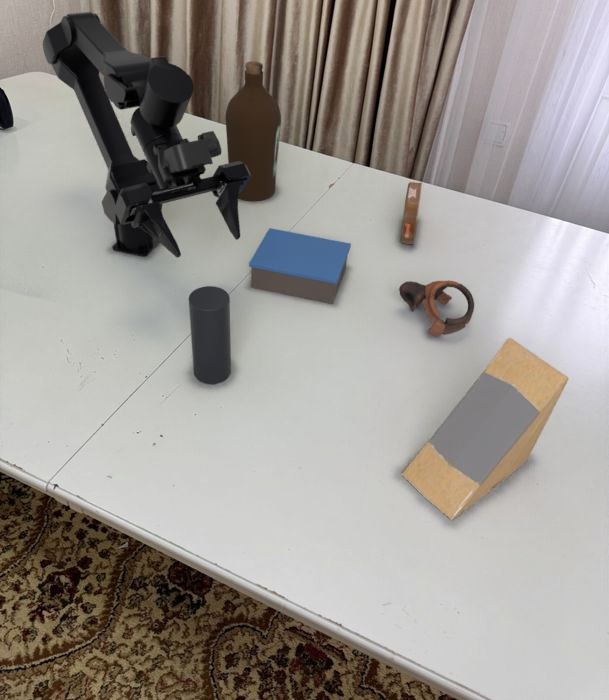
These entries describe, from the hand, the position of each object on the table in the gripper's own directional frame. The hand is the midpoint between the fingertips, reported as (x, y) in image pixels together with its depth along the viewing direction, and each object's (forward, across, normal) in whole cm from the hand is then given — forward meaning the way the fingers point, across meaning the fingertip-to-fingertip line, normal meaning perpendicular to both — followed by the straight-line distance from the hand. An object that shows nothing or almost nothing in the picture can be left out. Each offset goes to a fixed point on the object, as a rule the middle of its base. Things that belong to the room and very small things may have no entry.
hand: (209, 247), depth 85 cm
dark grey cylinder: (+15, -5, +6) cm, 17 cm away
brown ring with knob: (+22, +31, +2) cm, 38 cm away
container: (+6, +19, +14) cm, 25 cm away
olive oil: (-18, +29, +33) cm, 48 cm away
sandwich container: (+41, +14, -13) cm, 45 cm away
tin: (+4, +46, +16) cm, 49 cm away
